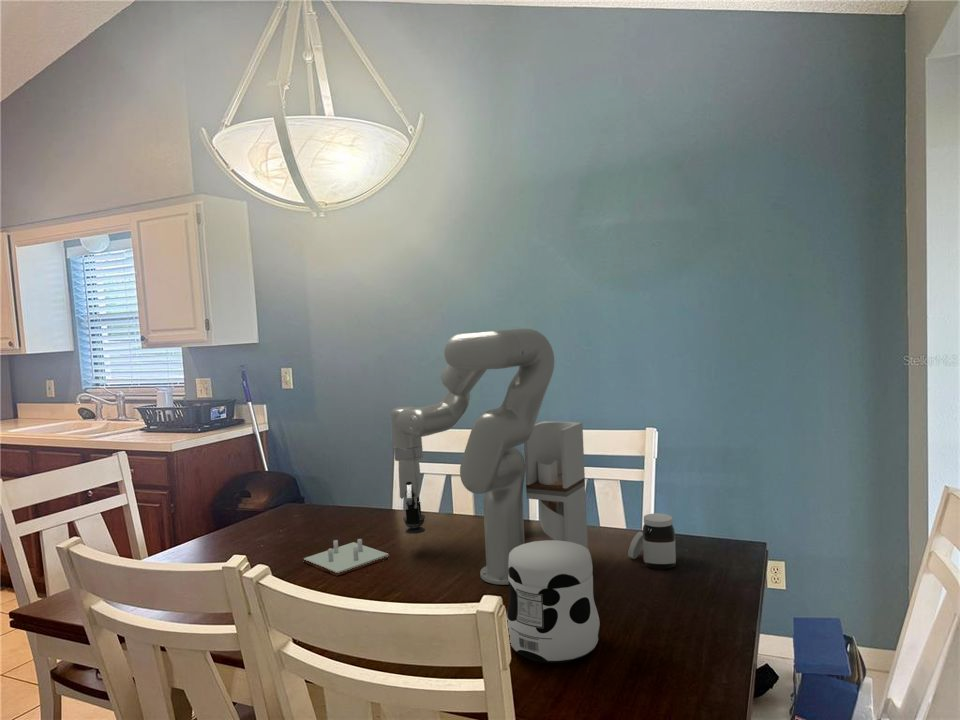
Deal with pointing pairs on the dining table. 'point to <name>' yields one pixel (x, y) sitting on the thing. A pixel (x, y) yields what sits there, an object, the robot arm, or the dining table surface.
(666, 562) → the spread jar
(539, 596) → the milk container
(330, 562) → the pin tray
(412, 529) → the salt shaker
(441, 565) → the dining table surface
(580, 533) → the open shelf unit
